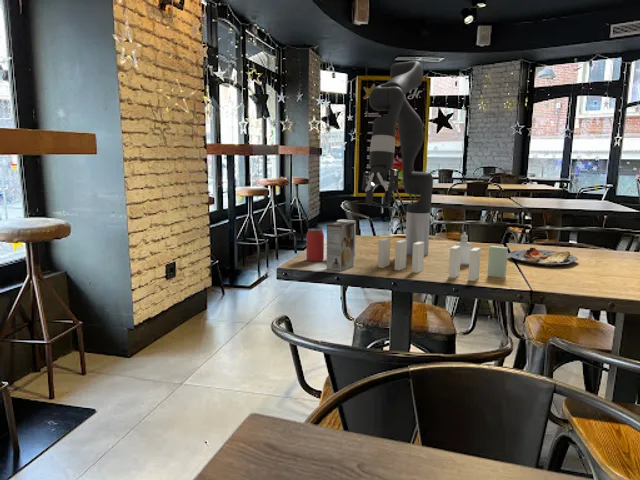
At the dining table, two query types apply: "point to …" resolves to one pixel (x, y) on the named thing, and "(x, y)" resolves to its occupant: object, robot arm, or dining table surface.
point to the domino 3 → (418, 257)
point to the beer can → (315, 245)
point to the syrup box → (354, 228)
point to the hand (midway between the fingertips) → (377, 204)
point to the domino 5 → (474, 264)
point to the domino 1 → (384, 252)
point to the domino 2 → (400, 254)
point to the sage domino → (497, 261)
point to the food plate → (542, 257)
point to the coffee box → (340, 245)
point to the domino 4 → (454, 261)
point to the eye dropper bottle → (464, 249)
